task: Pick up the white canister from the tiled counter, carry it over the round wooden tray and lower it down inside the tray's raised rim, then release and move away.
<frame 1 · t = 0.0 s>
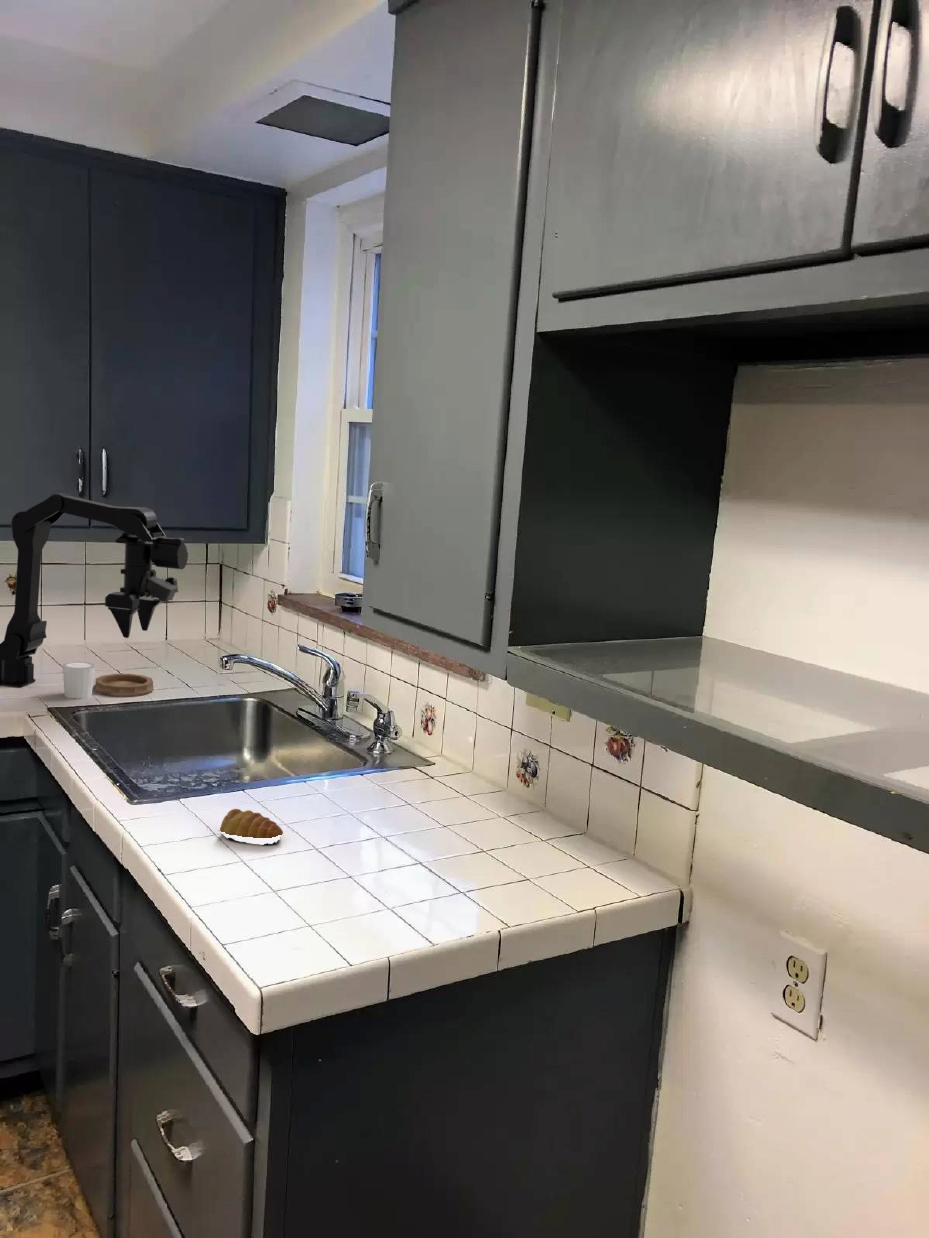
hand: (135, 634, 219), 15 cm above the countertop, tool pointing down, fingers open, 9 cm apart
white canister: (78, 696, 219), on the countertop
pastry: (249, 838, 152), on the countertop
round wooden tray: (124, 689, 227), on the countertop
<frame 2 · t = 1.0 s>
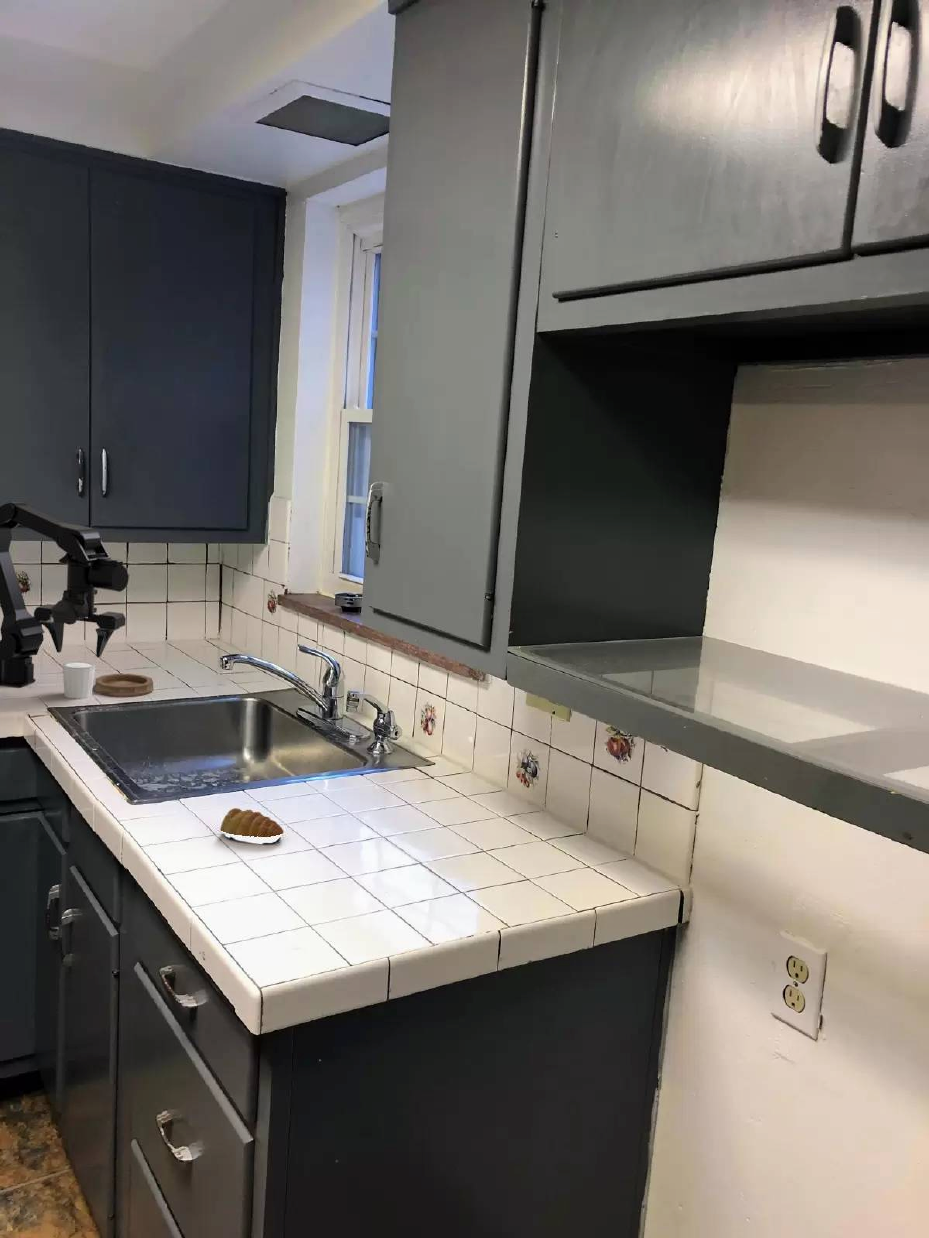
hand: (78, 654, 218), 9 cm above the countertop, tool pointing down, fingers open, 9 cm apart
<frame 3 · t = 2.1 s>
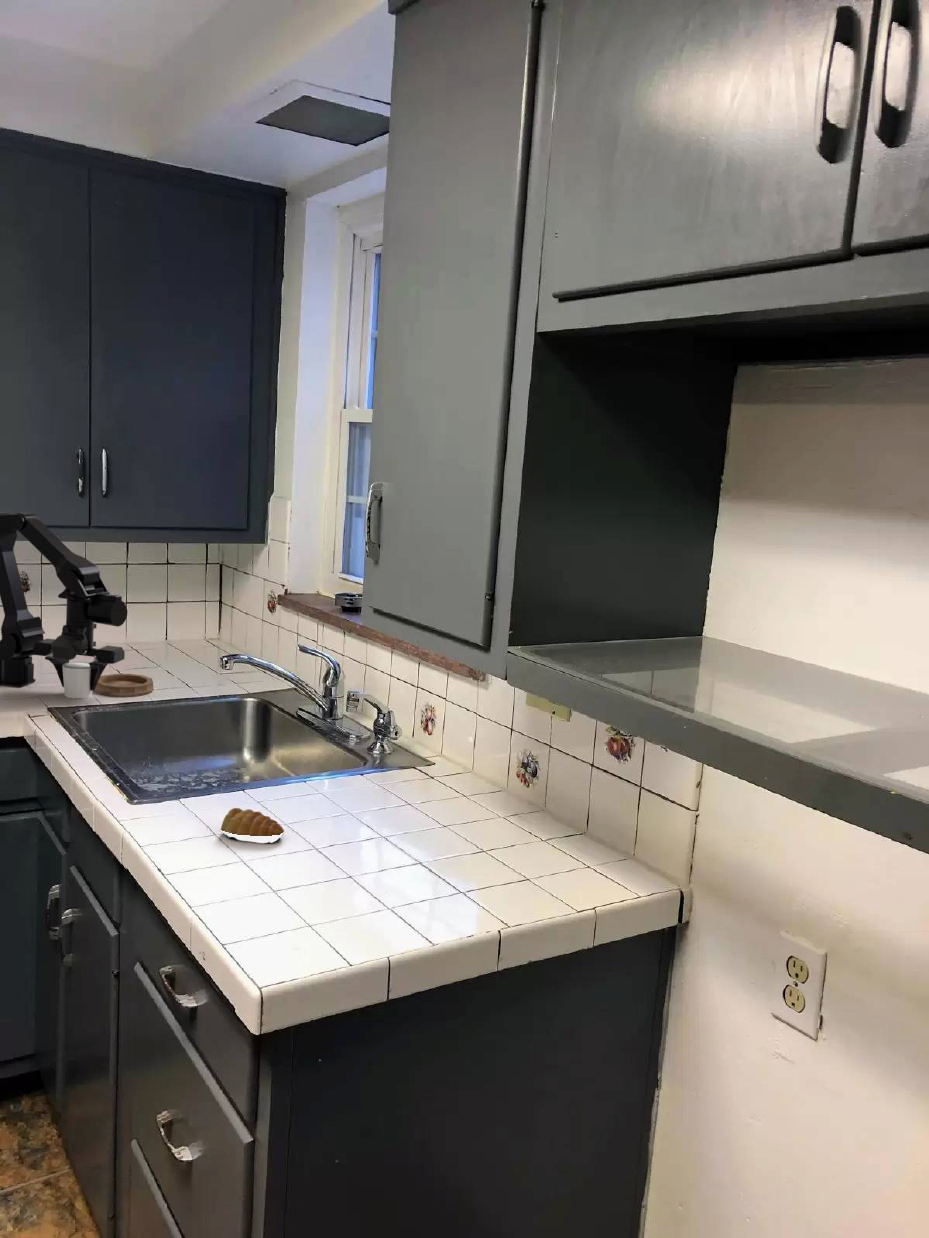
hand: (78, 688, 219), 2 cm above the countertop, tool pointing down, fingers closed on white canister, 6 cm apart
white canister: (78, 696, 219), on the countertop, touching gripper
everything else where it was.
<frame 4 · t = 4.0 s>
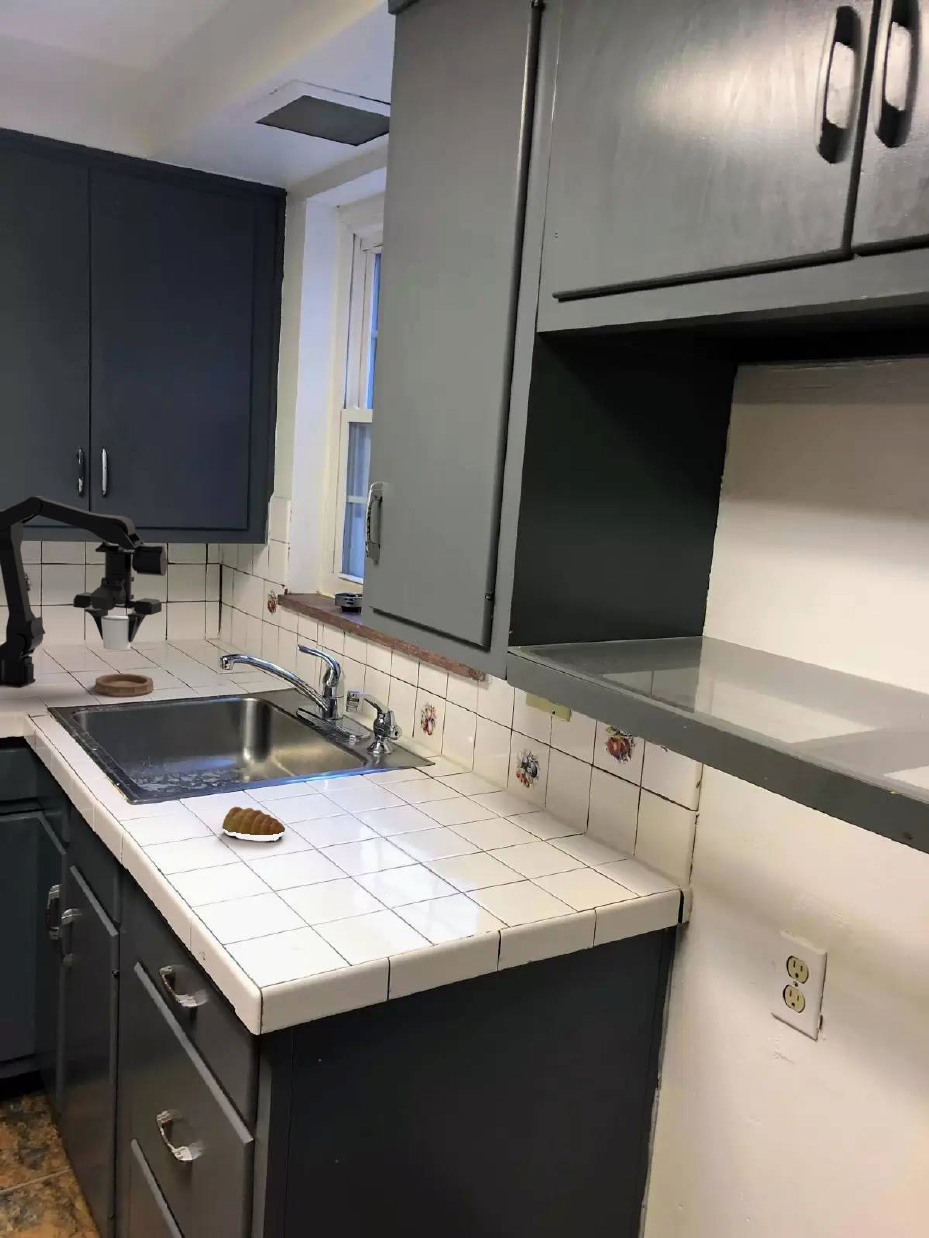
hand: (117, 640, 223), 12 cm above the countertop, tool pointing down, fingers closed on white canister, 6 cm apart
white canister: (116, 648, 223), point 10 cm above the countertop, touching gripper
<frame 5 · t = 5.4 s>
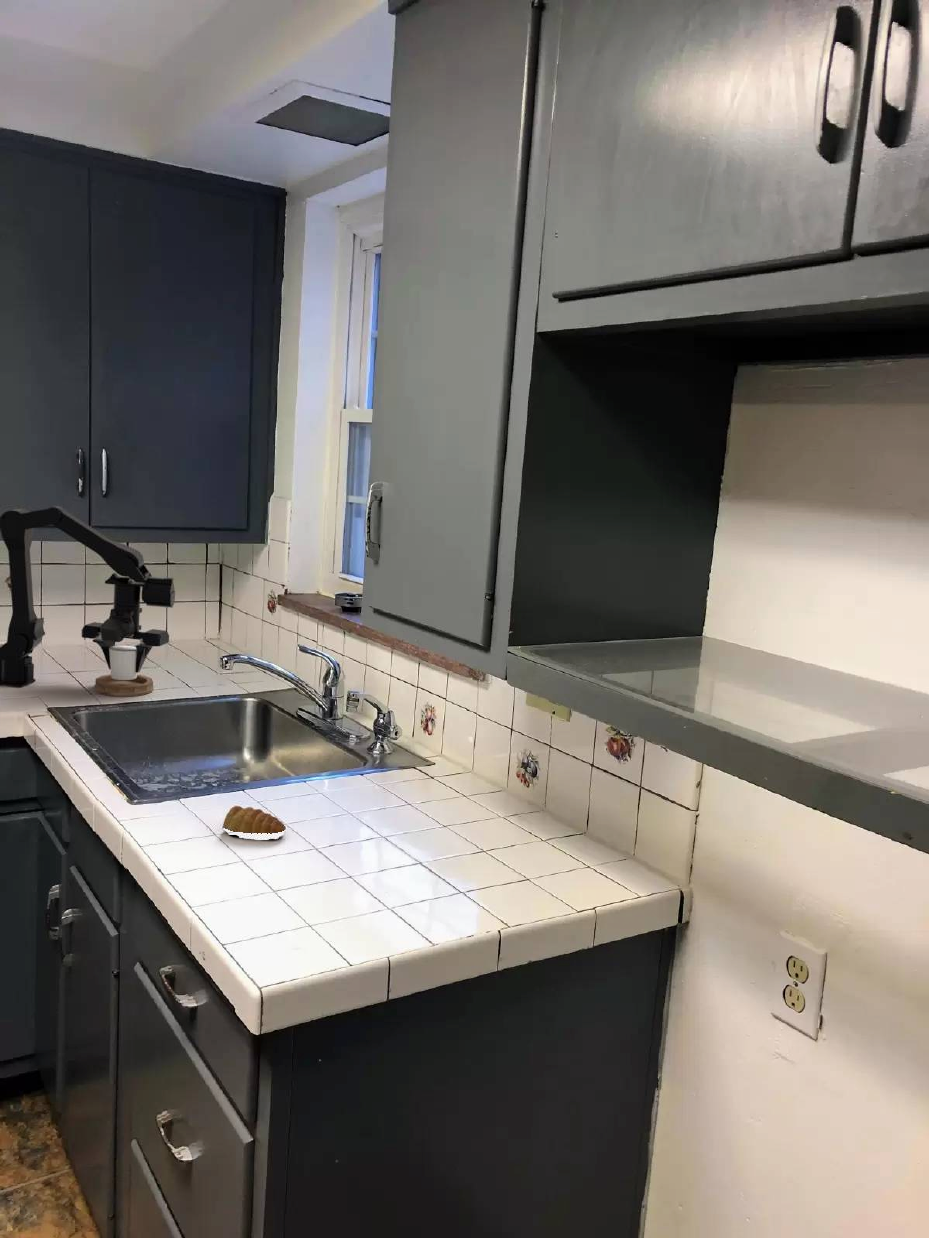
hand: (124, 670, 227), 4 cm above the countertop, tool pointing down, fingers closed on white canister, 6 cm apart
white canister: (123, 677, 227), point 3 cm above the countertop, touching gripper
when the fingers open (3 cm above the countertop, at t = 6.2 s): white canister stays where it is, resting on round wooden tray.
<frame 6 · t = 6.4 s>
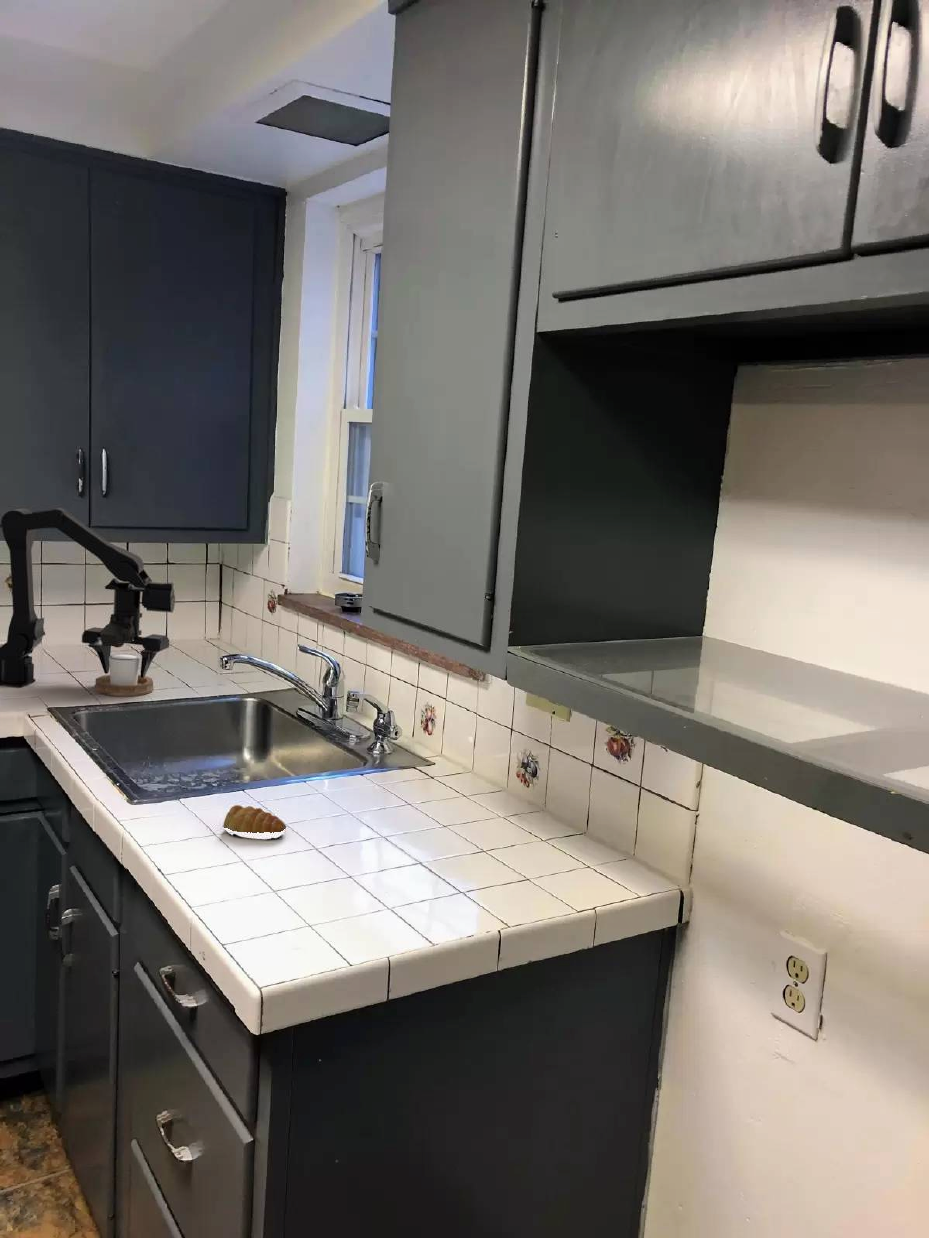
hand: (124, 675, 227), 3 cm above the countertop, tool pointing down, fingers open, 8 cm apart
white canister: (123, 686, 227), point 1 cm above the countertop, touching round wooden tray
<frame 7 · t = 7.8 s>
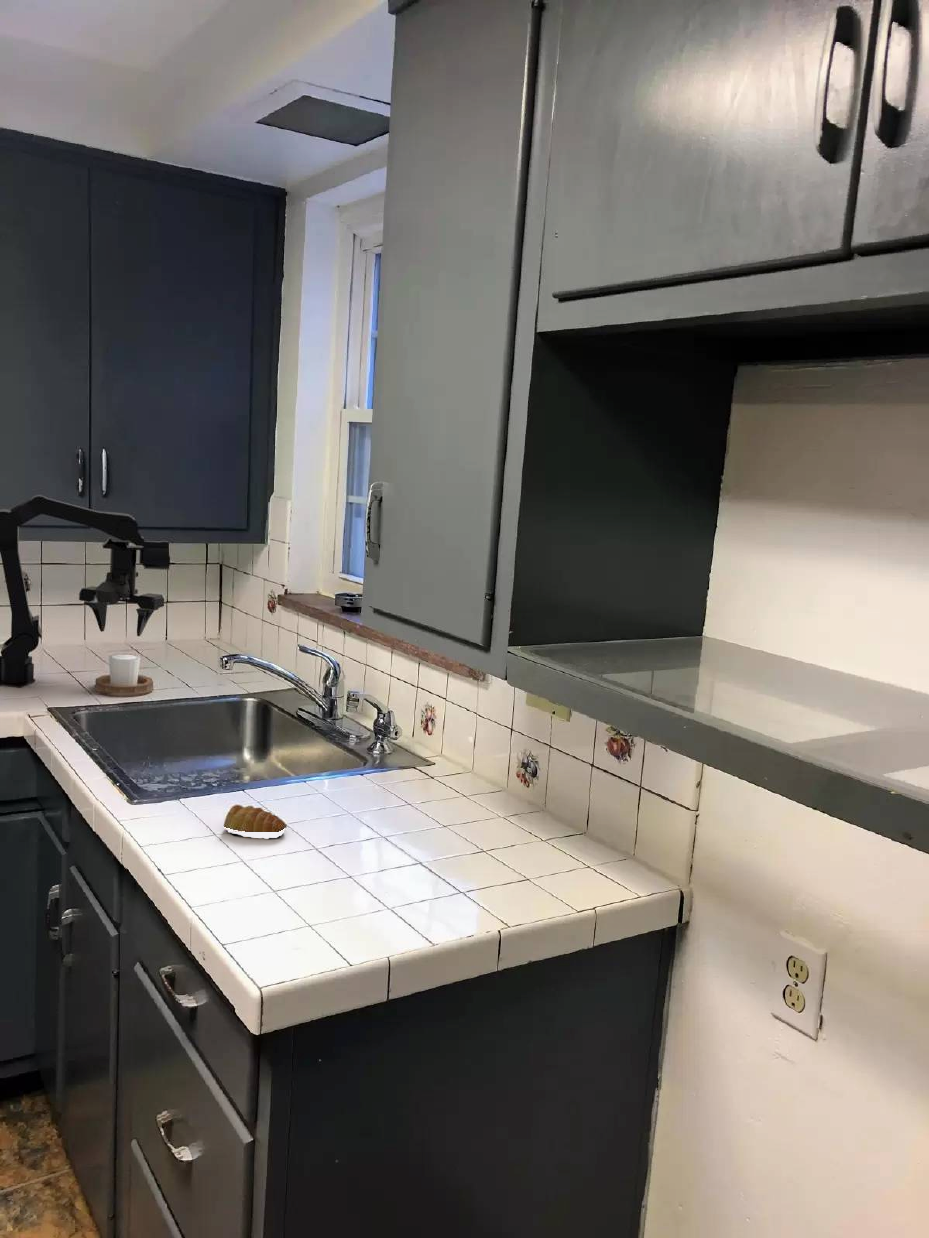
hand: (120, 633, 231), 12 cm above the countertop, tool pointing down, fingers open, 9 cm apart
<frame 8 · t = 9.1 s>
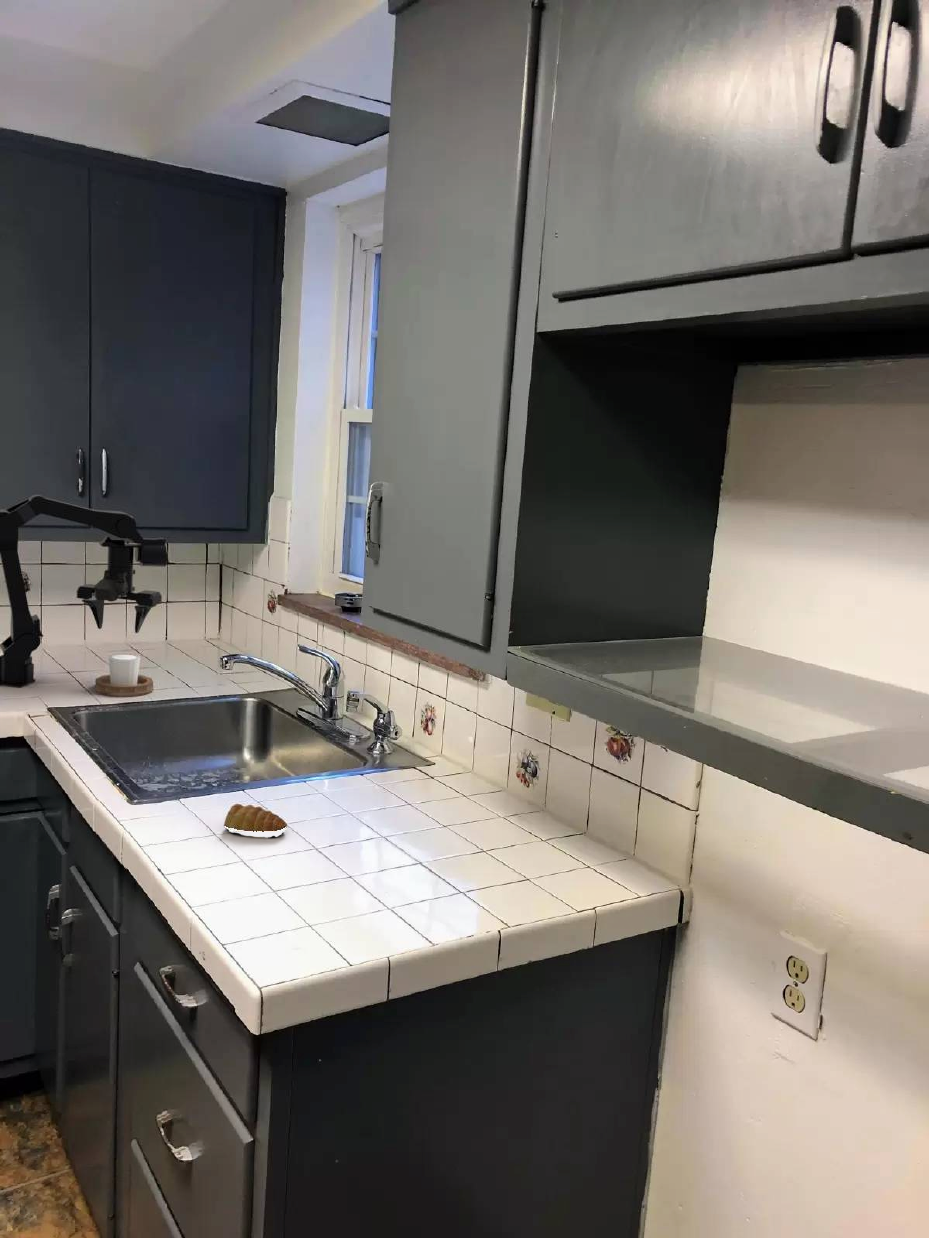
hand: (118, 630, 233), 12 cm above the countertop, tool pointing down, fingers open, 9 cm apart
at the end: white canister 0.1 cm from the round wooden tray (horizontally); white canister tilted 0°; the gripper is holding nothing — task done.
